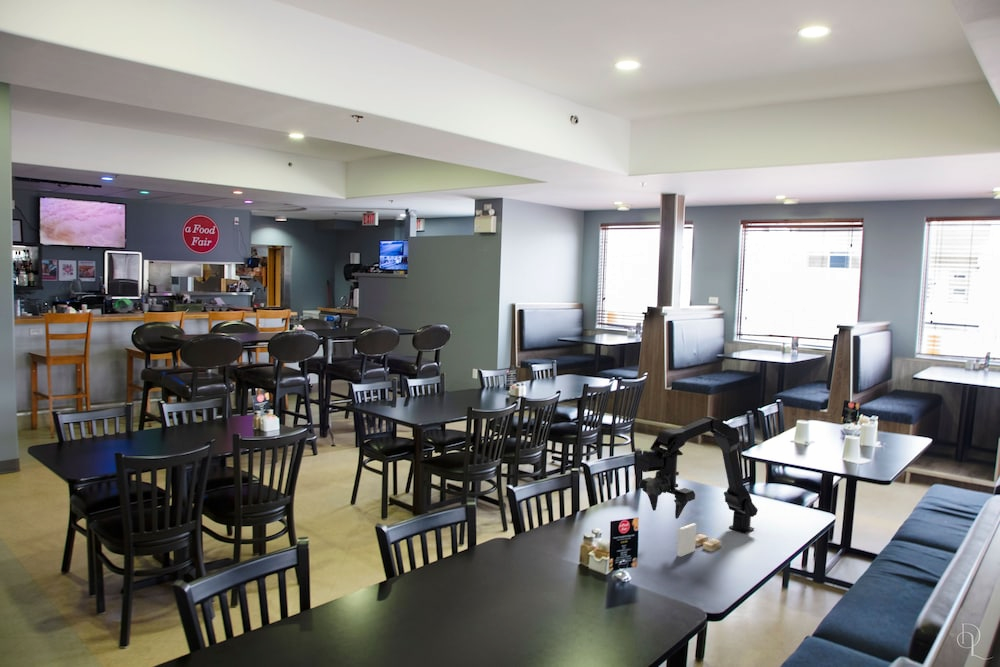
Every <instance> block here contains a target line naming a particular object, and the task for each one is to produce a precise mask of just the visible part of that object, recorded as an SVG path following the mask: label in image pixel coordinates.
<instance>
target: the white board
mask: <svg viewBox="0 0 1000 667" xmlns="http://www.w3.org/2000/svg"><path fill="white" fill-rule="evenodd" d="M697 527H698V526H697V523H695V522H693V523H690V524H688V525H685V526H681V527H679V528H678V534H677V535H678V536H677V555H676V556H677V557H679V558H680V557H683V556H686V555H688V554H691V553H693V552H695V551H696V546H695V545H696V535H697Z"/></svg>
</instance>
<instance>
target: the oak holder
mask: <svg viewBox="0 0 1000 667" xmlns="http://www.w3.org/2000/svg"><path fill="white" fill-rule="evenodd" d="M708 538H709V536H708V535H705V534H702V533H699V534H696V545H695V547H699V546H701V545H702V549H703V550H706V551H709V552H713V551H716V550H718V549H720V548H721V547H722V540H719V539H716V538H711V539H709V540H708Z"/></svg>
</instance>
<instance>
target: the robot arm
mask: <svg viewBox="0 0 1000 667" xmlns="http://www.w3.org/2000/svg"><path fill="white" fill-rule="evenodd" d="M709 432H710V433H711V434H713V438H714V440H715V443H716V444H717V446H718V447H719V449H720V450H721V452H722V457H723V463H724V468H725V472H726V473H725V474H726V479H727V483H728V487H727V489H726V491H724V492H723V496H724V502H725V503H726V504H727V506H728V507H727V508H728V510H730V511H733V519H732V525H730V526H728V528H729V529H730V528H731V530H733V529H734V531H736V530H738V531H737V532H739V531H740V533H742V532H743V534H747V533H750V532H752V531H754V530H755V528H754V527H752V526H751V524H752V523H751V521H752V520H751V519H752V518H754V516H757V514H758V508H757V507H756V505H755V504H754V503H753V500H752V497H751V495H750V493H749V491H748V490H747V488H746V487H745V485H744V481H743V476H742V472H741V470H742V469H741V465H740V460H739V455H738V447H739V444H740V443H741V442H740V431H739V429H738V428H736V427H734V426H730V425H727V424H726V423H724V422H722V421H721V420H719V419H718V418H717V417H713V416H709V415H707V416H704V417H703V418H701V419H698V420H696V421H694V422H691V423H689V424H686V425H684V426H681V427H679V428H666V429H662V430H661V431H659V432H658V435H657V437H656V438H655V440H654V442H653V443H652V444H651V447H650V449H649V450H643V451H642V454H641V455H640V456H639V458H638V459H637V460H638V461H637V462H638V467H639V469H640V470H641V472H643V473H648V472H655V476H654V477H646V478H645V477H644V478H643V479H641V480H640V481H639V488H640V489H641V490H642V492H644V493H645V494H646V496H648V499H649V502H650V506H651V509H652V511H653V512H654V511H656V510H657V507H658V500H659V499H658V498H659V496H661V495H662V493H664V494H666V493H668V494H671V495H674V498H675V499H674V500H673V502H674V503H675V513H674V514H675V516H674V517H675V520H676V519H679V517H680V516H681V514H682V512H683V510H684V509H685V507H686V505H687V504H688V502H692V501H693V500H696V493H695V491H694V490H692V489H688V488H686V487H684V488H680V489H677V488H678V487H679V484H678V483H677V476H679V475H680V471H677V470H678V469H677V467H678V456H683V455H684V453H683V452H682V451H681V450H680V449H681V448H683V446H685V444H686V442H688V441H690V440H692V439H694V438H697V437H699V436H701V435H703V434H707V433H709ZM753 529H754V530H753ZM751 530H752V531H751ZM749 531H750V532H749ZM746 532H747V533H746Z"/></svg>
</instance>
